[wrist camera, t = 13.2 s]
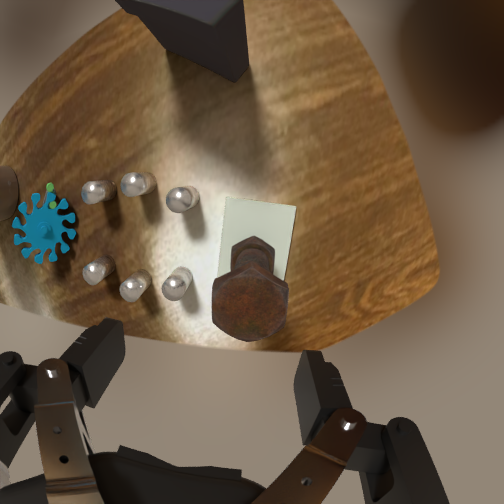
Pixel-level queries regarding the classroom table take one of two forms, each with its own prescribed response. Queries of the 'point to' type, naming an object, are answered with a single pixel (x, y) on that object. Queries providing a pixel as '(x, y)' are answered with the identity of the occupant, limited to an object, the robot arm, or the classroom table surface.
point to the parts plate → (256, 229)
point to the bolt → (250, 293)
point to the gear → (44, 226)
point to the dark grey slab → (198, 31)
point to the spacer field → (141, 279)
